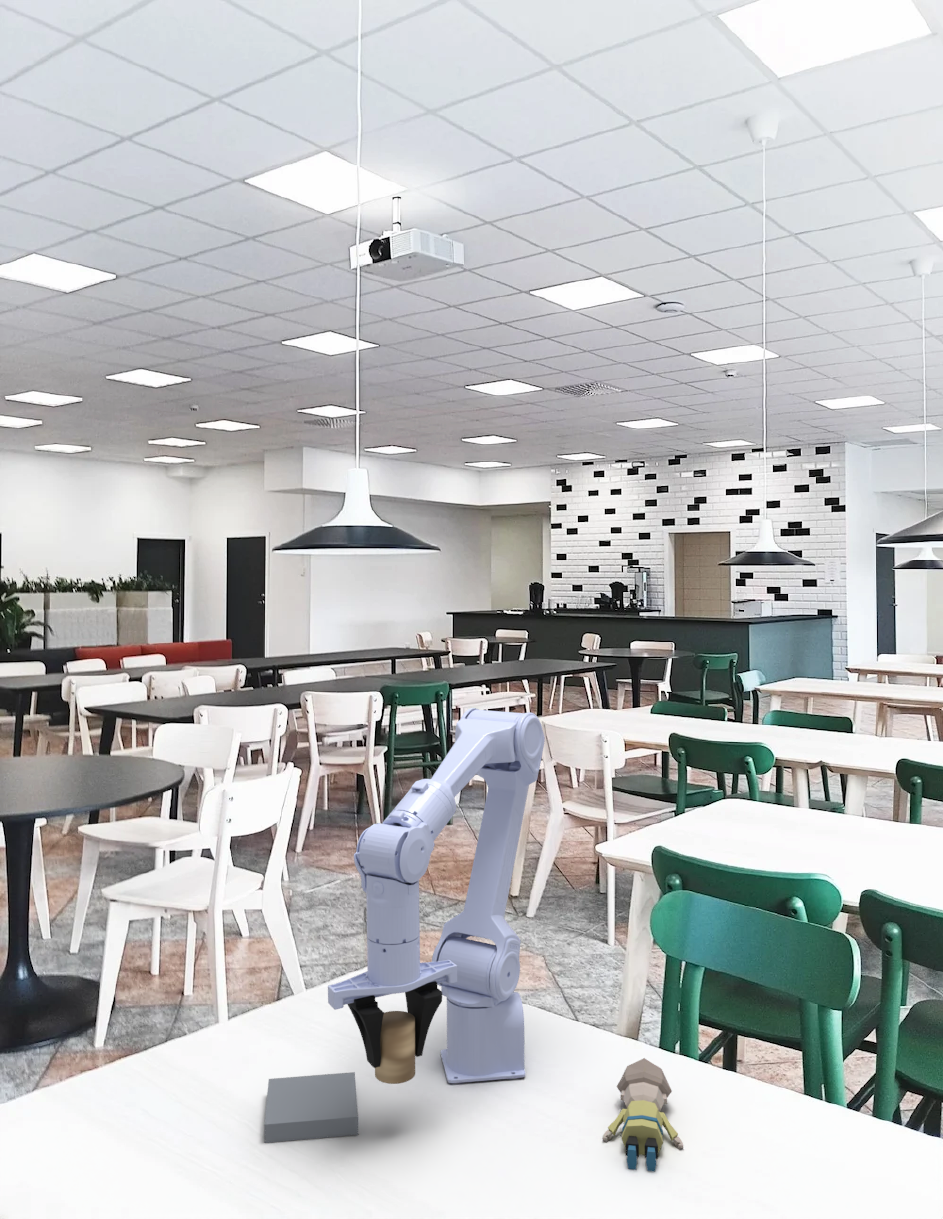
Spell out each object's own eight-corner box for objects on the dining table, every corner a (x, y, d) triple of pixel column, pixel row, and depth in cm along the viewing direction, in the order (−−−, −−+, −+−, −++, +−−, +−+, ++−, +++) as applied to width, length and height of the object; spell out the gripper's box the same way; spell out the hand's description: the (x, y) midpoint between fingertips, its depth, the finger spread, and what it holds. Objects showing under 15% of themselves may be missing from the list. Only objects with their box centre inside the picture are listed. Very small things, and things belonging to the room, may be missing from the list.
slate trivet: (355, 1088, 121) (354, 1072, 121) (358, 1134, 111) (358, 1116, 111) (269, 1095, 120) (268, 1078, 119) (264, 1142, 110) (264, 1124, 110)
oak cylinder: (413, 1062, 114) (413, 1009, 114) (417, 1082, 110) (416, 1027, 109) (373, 1065, 113) (373, 1012, 113) (376, 1085, 109) (375, 1030, 109)
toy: (684, 1183, 104) (681, 1100, 118) (684, 1132, 103) (681, 1055, 118) (599, 1174, 105) (607, 1093, 120) (599, 1124, 105) (607, 1049, 119)
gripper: (436, 912, 118) (438, 1028, 118) (317, 935, 111) (319, 1058, 112) (465, 932, 112) (466, 1053, 112) (340, 957, 105) (342, 1086, 105)
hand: (394, 1057), depth 111 cm, fingers closed on oak cylinder, 4 cm apart
